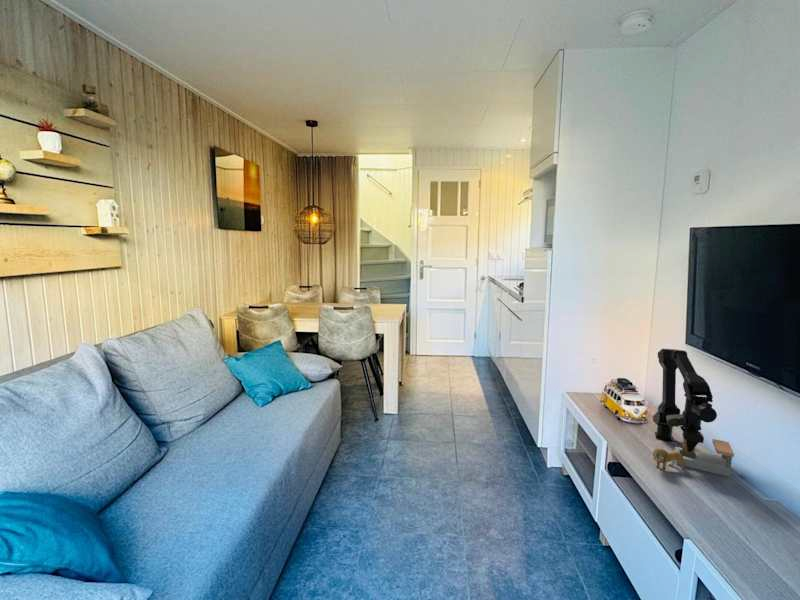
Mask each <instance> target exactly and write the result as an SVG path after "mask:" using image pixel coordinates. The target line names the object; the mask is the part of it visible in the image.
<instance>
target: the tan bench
mask: <svg viewBox="0 0 800 600" xmlns="http://www.w3.org/2000/svg"><path fill="white" fill-rule="evenodd" d="M712 444H713V447H714V449H715V452H716V454H718V455H720V456H721V457H722V458H723V459H726V463H725V467H726V468H731V467H732V460H733V458H734V457H735V453H734V451H733V448H732V446H731V445H730V444H731V443H729V441H725V440H721V439H715V438H712ZM731 469H732V468H731Z"/></svg>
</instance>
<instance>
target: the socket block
mask: <svg viewBox="0 0 800 600" xmlns="http://www.w3.org/2000/svg"><path fill="white" fill-rule="evenodd" d="M674 451H678V452H680V453H681V454H682V456H683V463H684V465H685V467H687V468H691V469H695V470H699V471H704V472H708V473H712V474H717V475H721V476H725V477H730V478H731V475H732V468H726V467H725V463H726V459H723V458H722V457H721V456H722V455H716V454H711V453H707V452H703V451H697V450H695V451H694V455H693V456H690V455H686V454H684V453H682V447H680V446H674ZM675 465H678V466H681V467H682V465H681V464H680V463H678V461H677V460H675Z"/></svg>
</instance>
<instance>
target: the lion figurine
mask: <svg viewBox="0 0 800 600" xmlns="http://www.w3.org/2000/svg"><path fill="white" fill-rule="evenodd" d="M652 456H653V457H652V458H653V459H654V460H655V462H656V464H655V468H656V469H658V468H660V465H661V464H662V467H661V471H662V472H666V467H667V463H668V466H669V467H673V466H674V465H676V461H675V460H677V461H678V463H680V464H681V465H682V466H681V465H680V466H681V467H680V469H681V470H682V471H683V470H685V467H686V466H685V465H684V463H683V456H682V454H681V453H680V452H678V451H675V450H672V451H666V449H664V448H662V447H659V446H658V447H654V449H653V451H652ZM670 462H671V463H670Z"/></svg>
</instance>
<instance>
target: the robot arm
mask: <svg viewBox="0 0 800 600" xmlns="http://www.w3.org/2000/svg"><path fill="white" fill-rule="evenodd" d="M657 359H658V363H659V364H660V366H661V368H662V395H661V396H662V398H661V399H662V401H661V403H660V404H659V405H658V406H657V411H656V413H654V415H653V416H652V421H653V423H655V425H656V426H657V428H656V431H654V435H655V439H660V440H663V441H669V442H673V441H674V438H673V428H674V427H676V428H679V427H680V429H681V431H682V434H681V435H682V440H683V439H685V440H686V442H687V451H688V452H691V451H692V450H693V449H694V448H695V449H696V446H697V445H698V444H703V443H704V440H705V437H704V435H703V433H702V432H701V431H702V427H701V426H702V425H701V424H702V421H703V422H705V423H712V422H715V420H716V419H717V417H718V413H717V411H716V410H715V409H714V408H713V404H712V403H713V398H714V397H713V394H712V391H711V388H710V385H709V384H708V382H707V380H706V379H705V378H704V377H703V376H701V375H699V374H698V373H697V371H696V370H695V367H694V366H693V364H692V363H691V360H690V358H689V357H688V352H687V351H686V350H683V349H681V350H680V349H676V348H675V349H674V348H673V349H672V348H661V349H660V350H659V351H658V352H657ZM677 369H678V371H679V372H680V375H681V376H682V378H683V383H682V386H683V391H684V395H683V396H684V397H685V403H684V410H683V411H682V413H681V409H680V408H678V405H677V404H676V386H677V385H676V384H677V383H676V382H677V381H676V379H677V378H676V377H677V376H676V375H677V374H676V373H677Z"/></svg>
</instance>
